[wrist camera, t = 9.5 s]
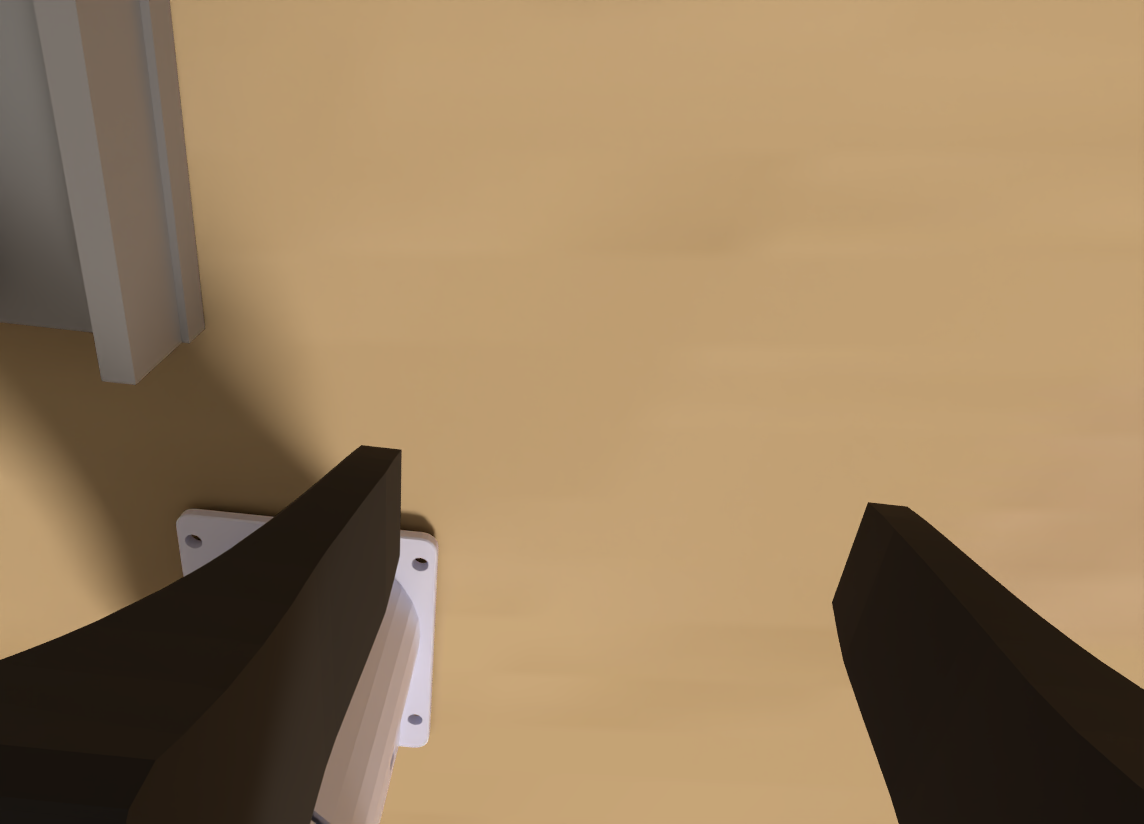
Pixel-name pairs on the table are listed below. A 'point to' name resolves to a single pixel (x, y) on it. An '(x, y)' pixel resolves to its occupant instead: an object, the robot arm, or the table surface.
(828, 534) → the table surface
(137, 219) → the rack
